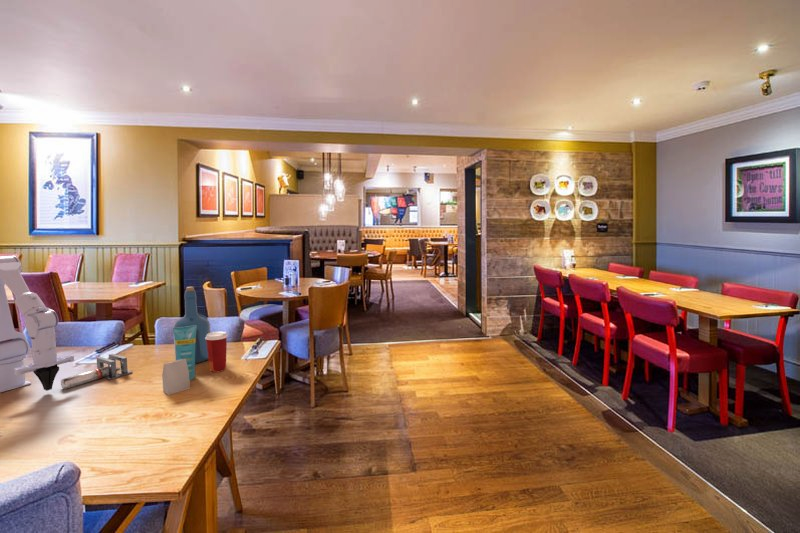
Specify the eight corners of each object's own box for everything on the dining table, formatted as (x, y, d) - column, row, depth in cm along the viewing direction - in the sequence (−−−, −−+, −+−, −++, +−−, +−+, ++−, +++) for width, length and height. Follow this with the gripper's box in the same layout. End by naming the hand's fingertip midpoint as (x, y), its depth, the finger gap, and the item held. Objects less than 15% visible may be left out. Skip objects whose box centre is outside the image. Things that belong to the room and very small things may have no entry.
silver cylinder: (65, 391, 129) (66, 381, 128) (60, 386, 131) (60, 377, 130) (112, 376, 142) (113, 368, 141) (107, 372, 143) (107, 364, 142)
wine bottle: (196, 366, 151) (192, 290, 148) (167, 364, 154) (162, 289, 151) (219, 355, 165) (216, 285, 161) (191, 353, 167) (188, 283, 164)
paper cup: (232, 366, 152) (231, 331, 150) (221, 373, 144) (220, 336, 143) (213, 365, 153) (212, 330, 151) (202, 372, 145) (200, 336, 144)
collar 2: (121, 376, 141) (120, 359, 140) (105, 371, 146) (103, 355, 145) (132, 373, 144) (131, 356, 144) (115, 368, 149) (114, 352, 148)
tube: (176, 382, 136) (173, 329, 134) (175, 378, 140) (172, 326, 138) (199, 378, 140) (197, 326, 138) (198, 374, 144) (195, 323, 142)
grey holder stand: (109, 380, 137) (108, 363, 137) (92, 374, 142) (91, 358, 142) (120, 376, 141) (119, 360, 140) (103, 371, 146) (102, 355, 145)
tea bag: (189, 388, 131) (188, 359, 130) (167, 395, 126) (166, 365, 125) (184, 385, 134) (183, 357, 133) (163, 392, 128) (161, 362, 127)
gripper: (20, 357, 117) (24, 400, 118) (77, 344, 130) (80, 383, 131) (9, 353, 120) (14, 396, 121) (66, 341, 133) (70, 379, 134)
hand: (47, 389), depth 126 cm, fingers closed
